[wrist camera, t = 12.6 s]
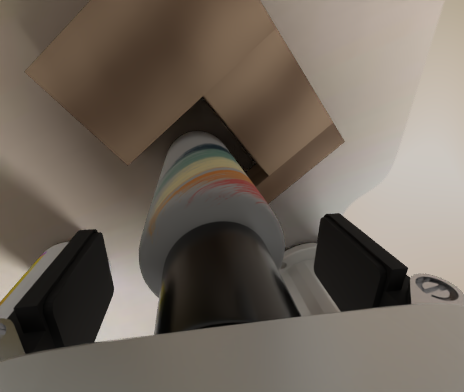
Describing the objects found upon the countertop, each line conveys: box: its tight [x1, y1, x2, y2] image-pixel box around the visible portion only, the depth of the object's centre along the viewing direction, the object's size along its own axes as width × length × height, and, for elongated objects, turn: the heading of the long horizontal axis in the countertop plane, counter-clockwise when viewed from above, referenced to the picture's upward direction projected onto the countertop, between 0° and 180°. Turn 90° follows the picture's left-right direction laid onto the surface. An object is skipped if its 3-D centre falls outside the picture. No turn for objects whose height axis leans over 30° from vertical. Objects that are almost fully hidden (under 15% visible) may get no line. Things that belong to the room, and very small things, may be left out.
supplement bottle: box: [0, 242, 111, 319], centre depth 20 cm, size 7×7×13 cm
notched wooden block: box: [25, 0, 345, 204], centre depth 20 cm, size 18×14×4 cm
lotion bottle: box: [139, 131, 301, 335], centre depth 14 cm, size 6×6×20 cm
